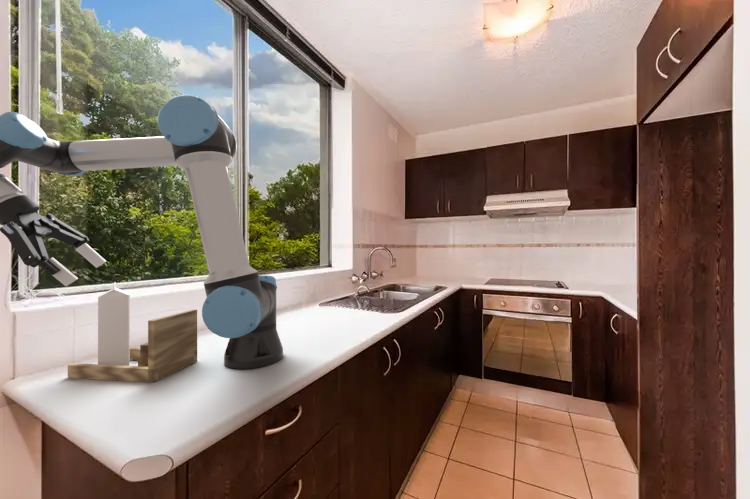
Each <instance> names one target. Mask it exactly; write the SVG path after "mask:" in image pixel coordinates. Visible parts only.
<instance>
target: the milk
mask: <svg viewBox="0 0 750 499" xmlns="http://www.w3.org/2000/svg"><path fill="white" fill-rule="evenodd" d="M130 296H131V294H130V292H129V291H125V290H124V289H120V288H118V287H117V282H116V281H114V283H113V288H111V289H110V290H108V291H105V292H104V293H102V294H100V295H98V297H97V364H98V365H120V366H130V363H131V361H130V348H131V347H130V345H131V344H130V343H131V340H130V338H131V331H130V330H131V328H130V322H131V314H130V313H131V311H130V310H131V307H130V306H131V305H130V300H131V298H130Z"/></svg>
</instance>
